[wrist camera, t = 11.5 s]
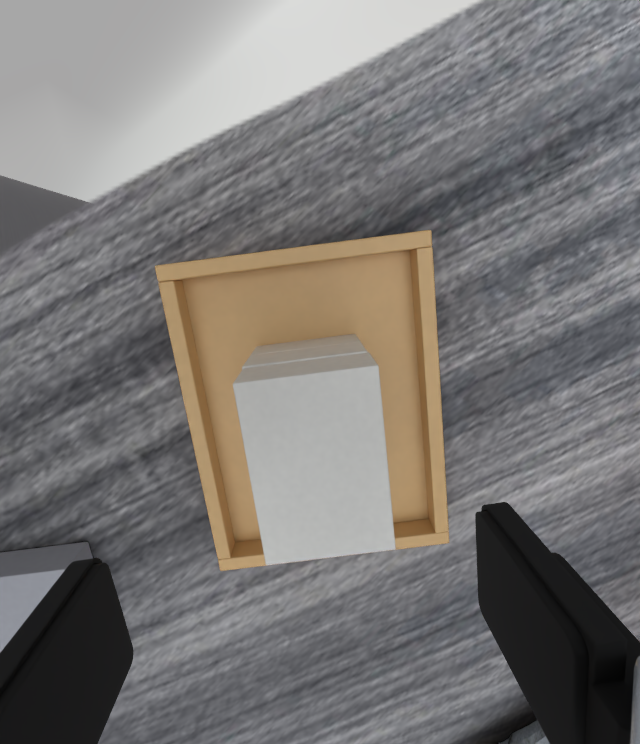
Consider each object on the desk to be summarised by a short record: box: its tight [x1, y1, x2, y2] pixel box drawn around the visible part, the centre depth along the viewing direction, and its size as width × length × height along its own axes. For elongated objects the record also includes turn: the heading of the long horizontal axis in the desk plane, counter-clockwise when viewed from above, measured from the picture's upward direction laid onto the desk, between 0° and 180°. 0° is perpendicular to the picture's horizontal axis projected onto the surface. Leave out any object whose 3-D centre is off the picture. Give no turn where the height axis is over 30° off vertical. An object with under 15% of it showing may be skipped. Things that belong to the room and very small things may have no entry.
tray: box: [155, 230, 449, 571], centre depth 23 cm, size 18×14×2 cm
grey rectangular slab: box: [0, 542, 93, 653], centre depth 26 cm, size 9×6×2 cm, turn 7°
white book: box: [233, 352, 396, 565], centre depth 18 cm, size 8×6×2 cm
